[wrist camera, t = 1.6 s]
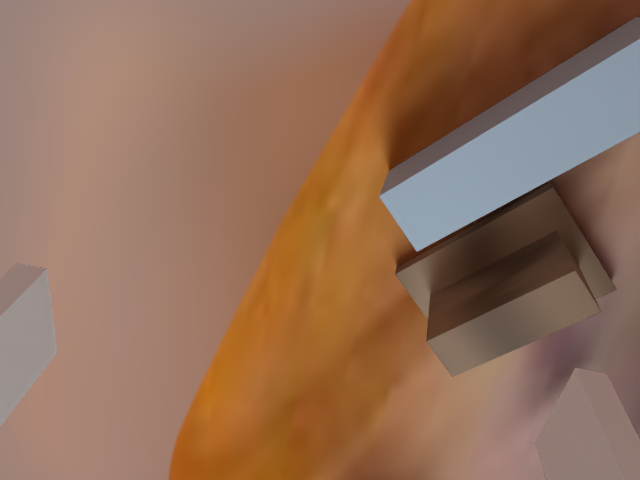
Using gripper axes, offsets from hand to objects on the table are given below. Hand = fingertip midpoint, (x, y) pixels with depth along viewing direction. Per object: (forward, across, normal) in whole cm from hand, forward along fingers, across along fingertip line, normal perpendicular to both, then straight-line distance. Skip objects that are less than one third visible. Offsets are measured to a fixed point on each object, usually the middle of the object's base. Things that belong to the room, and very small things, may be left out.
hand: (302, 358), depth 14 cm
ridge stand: (+18, -11, +7) cm, 22 cm away
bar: (+19, -9, -2) cm, 21 cm away
